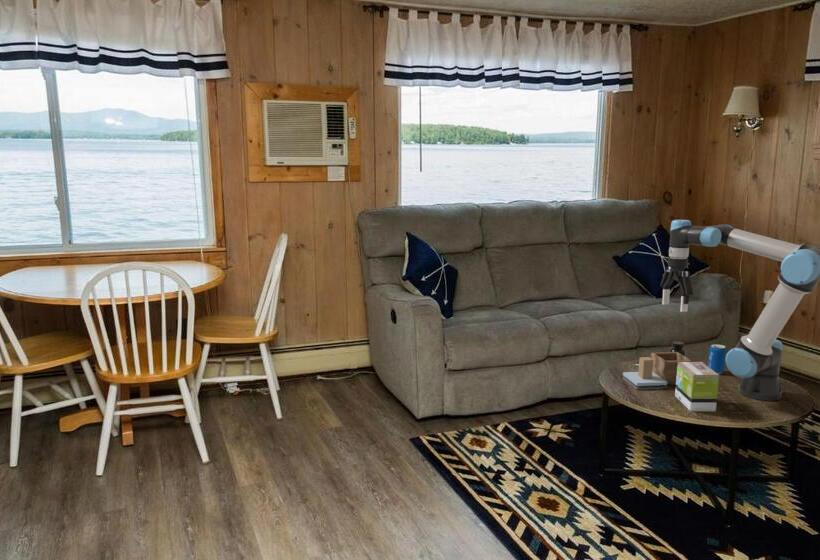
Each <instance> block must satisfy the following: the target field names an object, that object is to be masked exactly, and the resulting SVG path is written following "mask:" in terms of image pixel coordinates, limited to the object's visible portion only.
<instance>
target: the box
mask: <svg viewBox="0 0 820 560" xmlns="http://www.w3.org/2000/svg"><path fill="white" fill-rule="evenodd" d="M650 358H651V359H652V360H653V371H652V372H654V373H655V374H657V375H658V376H659V377H661V378H662V379H664V380H665V381H667V382H668V383H667V384H672V385H676V378H677V366H678V362H693V360H692V359H689V357H686V355H685V356H683V355H681V354H680V353H678V352H669V351H666V352H650Z"/></svg>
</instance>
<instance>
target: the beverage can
mask: <svg viewBox="0 0 820 560" xmlns="http://www.w3.org/2000/svg"><path fill="white" fill-rule="evenodd" d="M708 351H709V353H708V360H707V361H708V362H707V366H708V367H709V368H711V369H712V370H713V371H715V372H716V373H717V374H719V375H721V374H723V373H725V365H726V362H725V358H726V355H727V349H726V346H725V345H722V344H716V343H715V344H713V343H712V344H711V345H710V347H709V350H708Z"/></svg>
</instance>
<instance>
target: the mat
mask: <svg viewBox="0 0 820 560" xmlns="http://www.w3.org/2000/svg"><path fill="white" fill-rule="evenodd" d="M622 380H623V381H625V382H626V383H627V382H628V383H627V384H629V385H630V386H631V385H632V386H633V387H632V386H631V387H632V388H634V389H635V390H636V389H641V390H664V389H663V388H667V389H668V387H667V385H660V386H636V385H635V384H634V383H632V382H631V381H630V380H629V379H627V378H626V377H625V376H623V377H622ZM660 388H661V389H660Z"/></svg>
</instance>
